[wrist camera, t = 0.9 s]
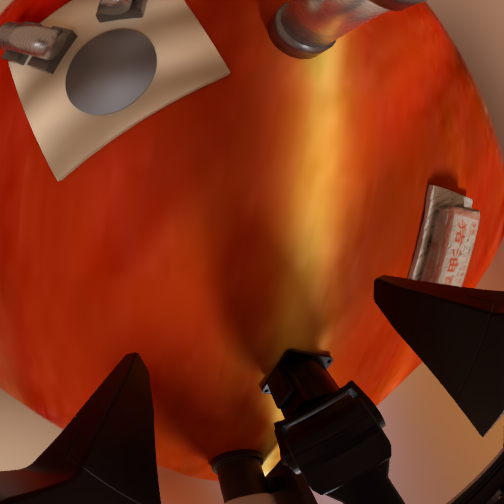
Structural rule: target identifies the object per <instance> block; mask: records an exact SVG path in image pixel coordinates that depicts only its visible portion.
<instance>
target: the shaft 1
mask: <svg viewBox="0 0 504 504" xmlns="http://www.w3.org/2000/svg"><path fill="white" fill-rule="evenodd" d="M77 37H78V36H77V35H76V34H75V33H74V31H73V30H70V29H66V28H61V27H56V26H52V27H45V26H43V25H41V24H39V23H33V22H24V23H18V22H7V23H5V24H3V25H2V26H1V27H0V49H5V50H6V51H5V52H4V54H3V56H2V57H1V58H2V59H4V60H6V61H8V62H12V63H16V64H20V65H23V66H24V64H25V62H26V60H27V59H28V57H29V55H31V56H32V57H31V59H30V60H29V62H28V64H27V65H29V66H30V67H32V68H34V69H37V70H40V71H43V72H47V73H50V74H53V73H54V72H55V70H56V68H57V67H58V65H59V63H60V62H61V60H62V59H63V57H64V56H65V54H66V52H67V51H68V50H69V48H70V47H71V45H72V44H73V42H74V41H75V39H76V38H77Z"/></svg>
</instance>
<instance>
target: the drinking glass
mask: <svg viewBox="0 0 504 504" xmlns="http://www.w3.org/2000/svg"><path fill="white" fill-rule="evenodd" d="M423 1H426V0H291V1H290V2H288V3H285V4H284V5H282V6H281V7H280V9H279V10H278V11H277V12H276V14H275V15H274V16H273V18H272V19H271V20H270V22H269V25H268V33H269V36H270V38H271V40H272V42H273V43H274V45H275V46H276V47H277V48H278V49H279V50H281V51H282V52H284V53H285V54H287V55H289V56H291V57H294V58H299V59H310V58H314V57H316V56H318V55H319V54H321V53H322V52H324V51H326V50H327V49H329V48H330V47H332V46H333V45H334V43H335V42H336V39H338V38H340V37H341V36H343V35H345V34H346V33H348V32H350V31H352V30H353V29H355V28H357V27H359V26H360V25H362V24H364V23H366V22H368V21H370V20H371V19H373V18H375V17H377V16H379V15H381V14H383V13H385V12H387V11H389V10H392V11H401V10H404V9H406V8H408V7H411V6H413V5H416V4H418V3H421V2H423Z"/></svg>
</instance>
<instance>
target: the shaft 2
mask: <svg viewBox="0 0 504 504" xmlns="http://www.w3.org/2000/svg"><path fill="white" fill-rule="evenodd" d="M147 1H148V0H100V2H99V5H98V9H97V12H96V15H95V16H96V17H97V19H98V21H99V22H100V23H102V22H108V21H114V20H122V19H131V18H142V17H143V15H144V12H145V8H146V4H147Z"/></svg>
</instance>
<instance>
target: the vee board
mask: <svg viewBox="0 0 504 504" xmlns="http://www.w3.org/2000/svg"><path fill="white" fill-rule="evenodd" d="M99 2H100V0H72V1H70V2H69V3H67V4H65V5H64V6H63V7H61V8H60V9H58V10H57V11H55V12H54V13H53V14H51V15H50V16H48V17H47V18H46V19H45V20H43V21H42V22H41V23H39V24H41V25H43V26H45V27H52V26H56V27H61V28H66V29H70V30H73V31H74V33H75V34H76V35H77V36H78V37H77V38H76V39H75V41H74V42H73V44H72V45H71V47H70V48H69V50H68V51H67V52H66V54H65V56H64V57H63V59H62V60H61V62H60V63H59V65H58V67H57V68H56V70H55V72H54V73H53V74H50V73H47V72H43V71H40V70H37V69H34V68H32V67H30V66H29V65H27V64H28V62H29V60H30V59H31V57H32V56H31V55H29V57H28V59H27V60H26V62H25V64H24V66H23V65H20V64H16V63H12V62H8V63H9V66H10V70H11V73H12V77H13V80H14V83H15V86H16V89H17V92H18V95H19V97H20V100H21V103H22V105H23V108H24V111H25V113H26V116H27V118H28V121H29V123H30V125H31V128H32V130H33V132H34V135H35V137H36V139H37V141H38V143H39V146H40V148H41V150H42V152H43V154H44V156H45V158H46V160H47V162H48V164H49V166H50V168H51V170H52V172H53V174H54V176H55V177H56V179H57V181H61V180H63V179H64V178H65V177H66V176H67V175H68V174H70V173H71V172H72V171H73V170H74V169H75V168H77V167H78V166H79V165H80V164H82V163H83V162H84V161H85V160H87V159H88V158H89V157H90V156H92V155H93V154H94V153H96V152H97V151H98V150H100V149H101V148H102V147H104V146H105V145H106V144H108V143H109V142H111V141H112V140H113V139H115V138H116V137H118V136H119V135H121V134H122V133H124V132H125V131H127V130H128V129H130V128H131V127H133V126H134V125H136V124H137V123H139V122H140V121H142V120H144V119H145V118H147V117H149V116H150V115H152V114H154V113H155V112H157V111H159V110H160V109H162V108H164V107H166V106H167V105H169V104H171V103H173V102H175V101H176V100H178V99H180V98H182V97H184V96H186V95H188V94H190V93H192V92H194V91H196V90H198V89H200V88H202V87H204V86H206V85H208V84H210V83H213V82H215V81H217V80H219V79H221V78H224V77H226V76H228V75H229V74H230V71H229V69H228V67H227V66H226V64H225V62H224V61H223V59H222V57H221V56H220V54H219V52H218V51H217V49H216V48H215V46H214V44H213V43H212V41H211V40H210V38H209V37H208V35H207V34H206V32H205V30H204V29H203V27H202V26H201V24H200V23H199V21H198V20H197V18H196V17H195V15H194V14H193V13H192V11H191V10H190V8H189V7H188V5H187V4H186V2H185V1H184V0H148V1H147V4H146V8H145V12H144V15H143V17H142V18H131V19H122V20H114V21H108V22H102V23H100V22H99V21H98V19H97V17H96V16H95V15H96V12H97V9H98V5H99Z"/></svg>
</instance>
